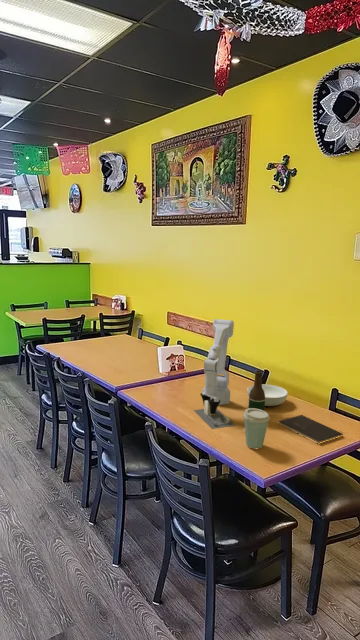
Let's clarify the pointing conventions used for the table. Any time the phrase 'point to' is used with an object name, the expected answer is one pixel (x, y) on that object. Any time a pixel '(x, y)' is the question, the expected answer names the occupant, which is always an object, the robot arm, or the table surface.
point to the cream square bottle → (207, 408)
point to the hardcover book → (310, 428)
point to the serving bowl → (272, 394)
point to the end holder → (219, 420)
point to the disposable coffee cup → (255, 427)
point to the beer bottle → (257, 393)
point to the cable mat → (217, 415)
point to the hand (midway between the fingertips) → (209, 410)
